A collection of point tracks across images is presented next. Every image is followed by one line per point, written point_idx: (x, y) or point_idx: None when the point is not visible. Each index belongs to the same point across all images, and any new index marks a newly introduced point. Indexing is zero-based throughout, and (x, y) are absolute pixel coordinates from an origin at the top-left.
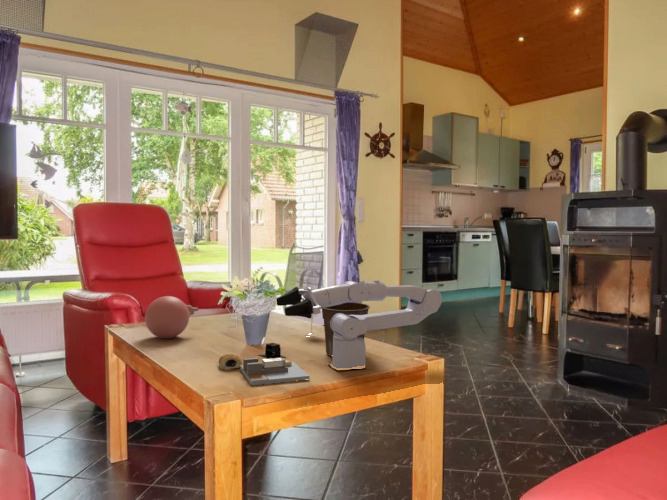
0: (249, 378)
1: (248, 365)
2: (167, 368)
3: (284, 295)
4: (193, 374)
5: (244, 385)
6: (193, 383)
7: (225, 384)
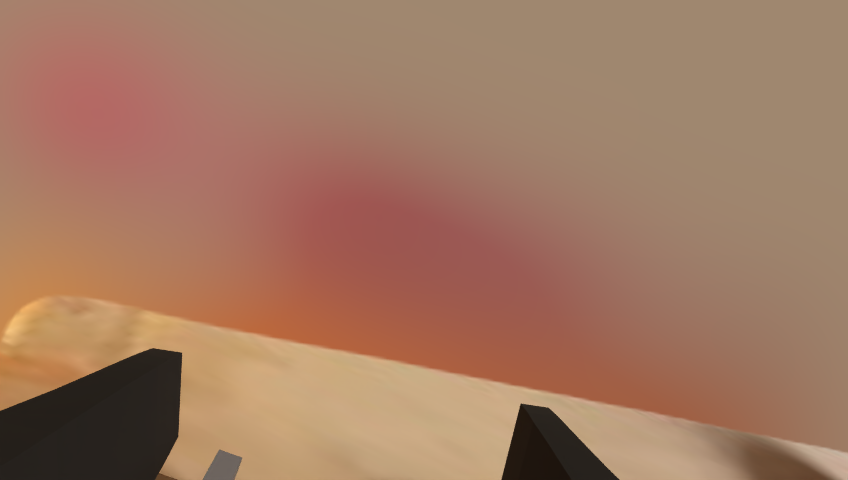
0: (162, 476)
1: (215, 456)
2: (498, 384)
3: (579, 467)
4: (405, 400)
5: None
6: (306, 355)
7: (220, 411)
